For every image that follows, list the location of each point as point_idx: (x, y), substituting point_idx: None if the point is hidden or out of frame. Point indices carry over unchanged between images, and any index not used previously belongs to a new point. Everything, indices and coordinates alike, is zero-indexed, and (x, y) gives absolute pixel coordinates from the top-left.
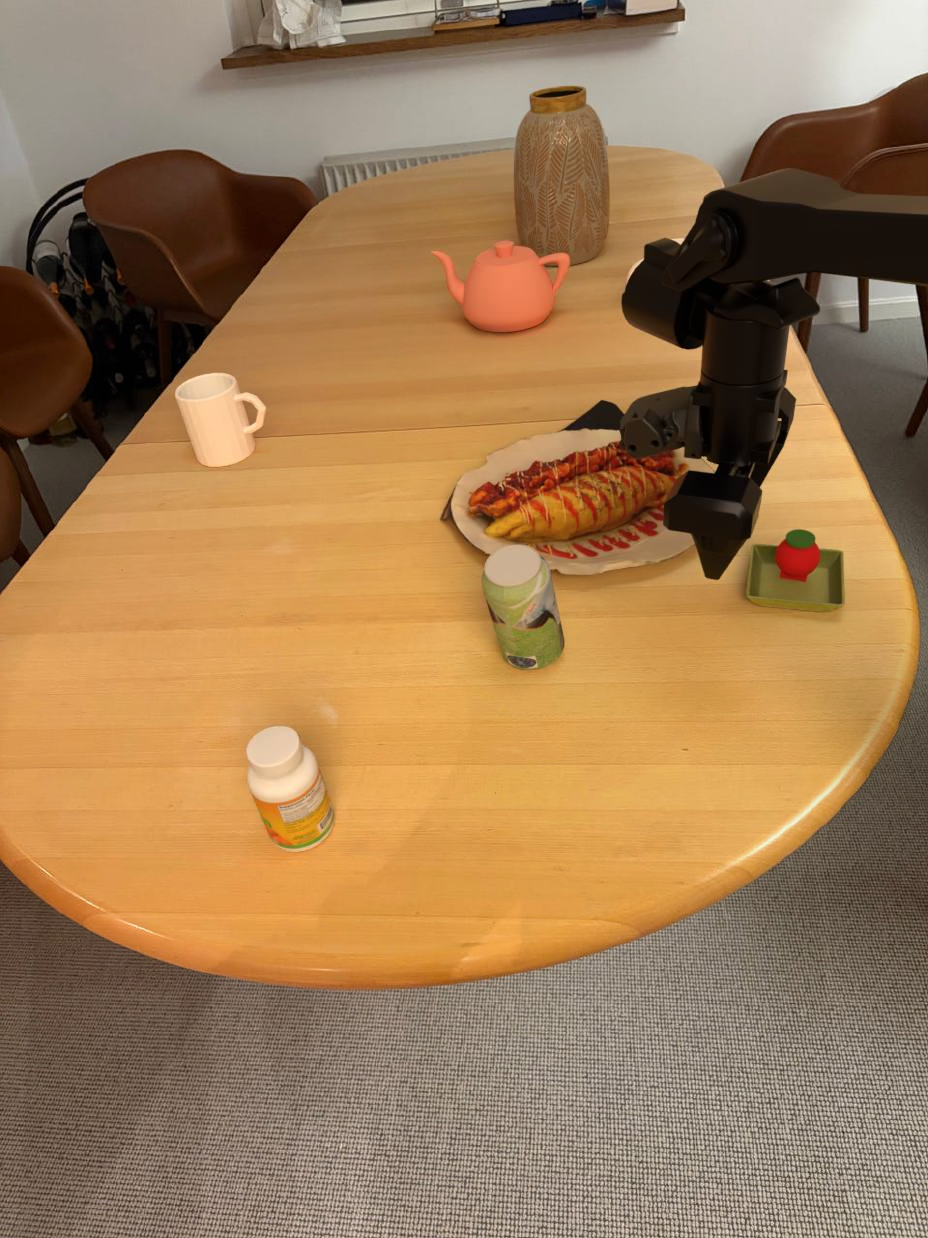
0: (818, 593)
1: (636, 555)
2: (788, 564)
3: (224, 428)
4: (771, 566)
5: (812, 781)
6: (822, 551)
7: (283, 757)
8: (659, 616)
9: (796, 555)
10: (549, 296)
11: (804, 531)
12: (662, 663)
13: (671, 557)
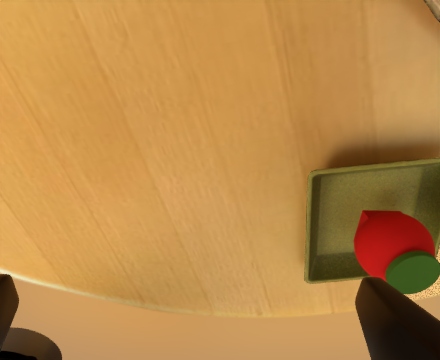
0: (349, 241)
1: None
2: (364, 242)
3: None
4: (412, 180)
5: (24, 265)
6: None
7: None
8: (269, 19)
9: (375, 261)
10: None
11: (432, 278)
12: (145, 56)
13: (431, 9)
